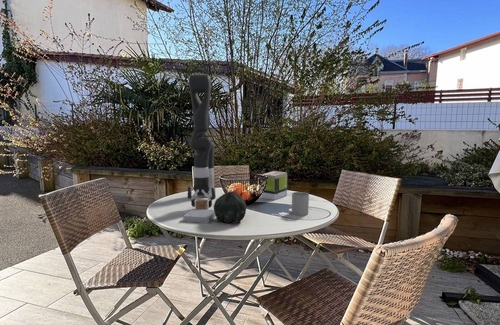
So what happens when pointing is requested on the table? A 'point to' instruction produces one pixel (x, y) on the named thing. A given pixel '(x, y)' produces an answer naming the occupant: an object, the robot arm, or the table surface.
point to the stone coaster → (199, 216)
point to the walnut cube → (201, 204)
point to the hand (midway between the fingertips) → (201, 206)
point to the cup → (300, 203)
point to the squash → (230, 207)
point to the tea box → (275, 185)
